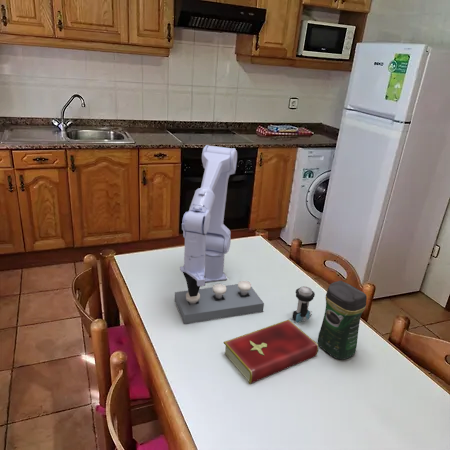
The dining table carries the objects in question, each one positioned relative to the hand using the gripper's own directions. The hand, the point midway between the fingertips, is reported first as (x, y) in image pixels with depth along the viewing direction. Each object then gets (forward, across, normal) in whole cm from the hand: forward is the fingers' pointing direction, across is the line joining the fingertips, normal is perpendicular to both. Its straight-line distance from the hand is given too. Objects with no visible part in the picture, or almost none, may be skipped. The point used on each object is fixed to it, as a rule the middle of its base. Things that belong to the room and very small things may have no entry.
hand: (193, 295), depth 117 cm
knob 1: (+3, 0, 0) cm, 3 cm away
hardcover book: (+6, +24, +14) cm, 28 cm away
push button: (+5, +12, +30) cm, 33 cm away
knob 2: (+2, 0, +16) cm, 16 cm away
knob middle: (+2, 0, +8) cm, 8 cm away
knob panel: (+5, 0, +8) cm, 9 cm away
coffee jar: (+5, +26, +32) cm, 42 cm away
